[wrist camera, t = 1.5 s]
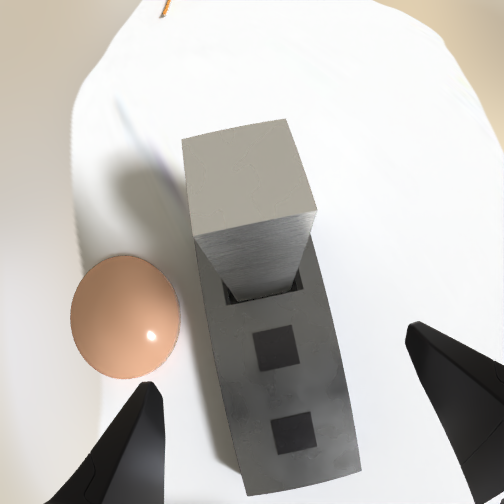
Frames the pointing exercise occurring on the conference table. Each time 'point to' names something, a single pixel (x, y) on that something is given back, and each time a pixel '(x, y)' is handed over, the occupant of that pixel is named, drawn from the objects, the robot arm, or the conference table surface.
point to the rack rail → (282, 381)
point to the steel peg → (249, 205)
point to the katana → (167, 7)
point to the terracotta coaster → (125, 317)
